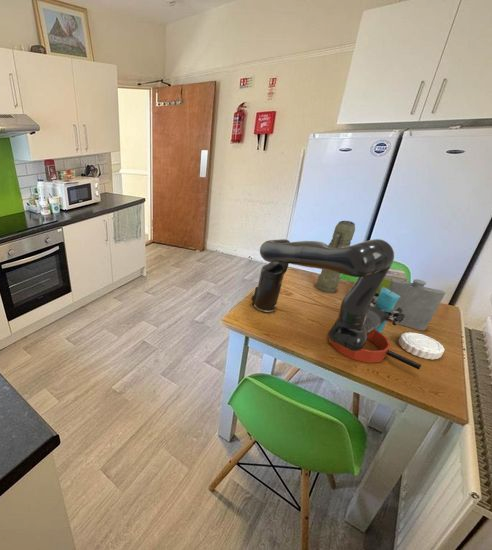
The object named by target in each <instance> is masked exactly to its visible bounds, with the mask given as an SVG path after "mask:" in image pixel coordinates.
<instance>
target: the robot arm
mask: <svg viewBox="0 0 492 550" xmlns="http://www.w3.org/2000/svg"><path fill="white" fill-rule="evenodd" d="M328 245H329V244H326V243H325V242H323V241H320V240H319V241H318V240H298V241H290V240H288V239H287V238H281V239H268V240H266V241H264V242H263V243H262V244H261V246H260V247H259V254H260V257H261V258H262V259H263V261H265V262H268V263H266V264H264V265H263V266H262V267H261V269H260V275H259V279H258V283H257V286H256V287H255V289H254V294H252V295H251V301H252V304H251V306H253V307H254V308H255V309H256V310H257V311H259V312H262V313H267V314H268V313H274V312H275V311H276V310H277V306H278V304H279V302H278V300H279V297H280V292H281V289H282V284H283V280H284V277H285V274H286V273H287V271H288V268H289V265H295V266H300V267H305V268H310V269H318V270H322V269H325V270H331V271H335V272H338V273H341V274H342V275H345V276H349V277H353V278H357V279H356V281H354V284H353V285H352V286H351V287H350V289H349V290H348V291H347V292H346V294H345V295H344V297H343V298H342V300H341V303H340V305H339V306H340V307H339V311H338V315H337V317H336V320H335V321H334V322H333V324H332V325H331V326H330V327H329V329H328V331H327V337H328V339H329V341H330V340H331V341H332V342H334V343H336V344H339V345H341V346H343V347H345V348H347V349H349V350H352V351H359V350H361V349H364V348H365V346H366V343H367V340H368V339H367V336H368V334H369V333H371V332H372V331H374V330H375V329H377V328H378V327H379V326H380V325H381V324H382V323H383V322H384V321H386V322H391V324H392V325H393V326H397V325H400V324H399V323H400V322H401V321H402V320H403V318H404V316H405V315H404V314H401V312H402V310H401V308H398V309H397V310H396V311H392V310H384V309H381V308H378V307H376V306H375V304H373V303H375V302H374V298H373V297H374V295H375V293H376V291H377V290H378V288H379V286H380V284H381V283H382V281H383V279H384V277H385V276H386V274H387V272H388V271H389V269H391V267H392V266H393V263H394V260H395V251H394V249H393V247H392V245H391V244H390V243H388V242H387V241H385V240H384V239H381V238H375V239H369V240H366V241H362V242H359V243H355V244H352V245H350V246H348V247H343V248H330V247H329V246H328ZM341 274H340V275H341ZM393 314H394V315H393Z"/></svg>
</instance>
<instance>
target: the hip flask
mask: <svg viewBox="0 0 492 550" xmlns="http://www.w3.org/2000/svg"><path fill="white" fill-rule="evenodd" d="M426 284H427V282H426V281H425V280H422V279H417V278H416V279H413V282H409V281H407V282H405V281H400V280H397V279H392V281H391V283H390V285H389V287H388V290H390V291H391V292H393V293H395V294H397V295H399V296H400V298H399V299H398V301H397V303H396V304H395V306H394V308H393V310H392V311H396V310H397V309H398V308H401V310H402V312H401V314H404V315H405V316H404V318H403V320H402V321H401V322H400V323H399V324H398V325H401V326H404V327H407V328H411V329H414V330H419V331H426V329H428V328H427V327H428V326H429V324H430V322H431V320H432V319H433V317H434V315H435V313H436V311H437V310H438V308H439V306H440V304H441V302H442V300H443V299H444V296H445V295H446V291H444V290H441V289H437V288H432V287H428V286H426ZM393 315H394V314H393Z"/></svg>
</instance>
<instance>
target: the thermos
mask: <svg viewBox="0 0 492 550" xmlns="http://www.w3.org/2000/svg"><path fill="white" fill-rule="evenodd" d="M355 232H356V223H355V222H354V221H350V220H340V221H338V223H337V224H336V226H335V227H334V230H333V233H332V238H331V240H330V242H329V243H328V244H327V245H328V246H329V247H330V248H343V247H348V246H351V243H352V242H351V241H352V240H353V237H354V234H355ZM340 276H341V273H338V272H335V271H331V270H325V269H321V272H320V273H319V274H318V277H317V280H316V285H315V288H316V289H317V290H319V291H321V292H323V293H328V294H330V293H331V294H332V293H335V292H336V291H337V288H338V286H339V283H340V280H341V277H340Z"/></svg>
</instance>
